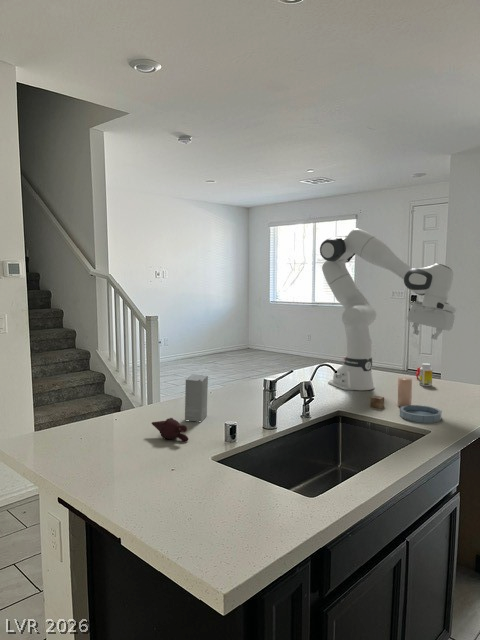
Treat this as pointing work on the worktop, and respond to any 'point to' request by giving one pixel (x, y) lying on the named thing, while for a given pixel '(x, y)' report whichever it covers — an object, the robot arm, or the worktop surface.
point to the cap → (418, 372)
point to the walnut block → (377, 402)
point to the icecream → (171, 429)
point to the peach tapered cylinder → (404, 391)
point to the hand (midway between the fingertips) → (424, 336)
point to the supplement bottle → (426, 375)
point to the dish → (420, 413)
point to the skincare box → (196, 397)
